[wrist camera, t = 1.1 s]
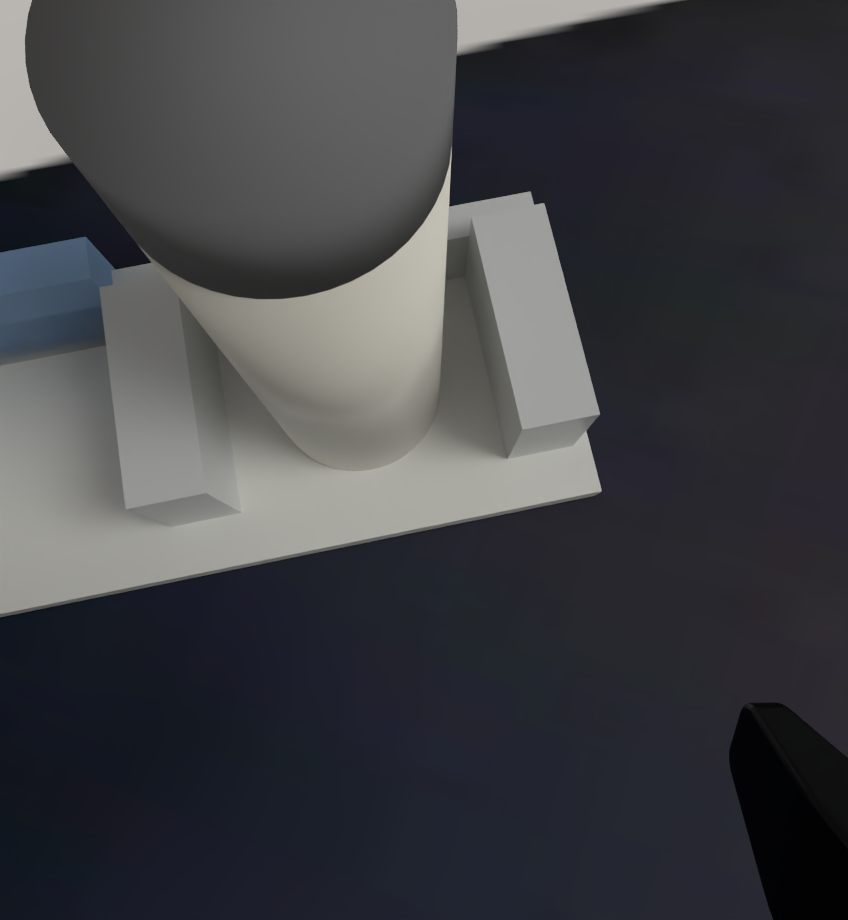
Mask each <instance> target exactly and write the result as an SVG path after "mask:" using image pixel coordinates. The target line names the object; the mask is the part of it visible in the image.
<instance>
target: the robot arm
mask: <svg viewBox="0 0 848 920" xmlns="http://www.w3.org/2000/svg"><path fill="white" fill-rule="evenodd" d="M729 763H730V769H731V773H732V777H733V781H734V784H735V788H736V792H737V795H738V799H739V802H740V806H741V810H742V813H743V817H744V821H745V824H746V828H747V832H748V835H749V839H750V843H751V846H752V850H753V853H754V857H755V861H756V864H757V868H758V872H759V875H760V879H761V883H762V886H763V889H764V893H765V896H766V900H767V903H768V906H769V909H770V912H771V915H772V918H773V920H848V758H847V757H846V756H845V755H843V754H842V753H841V752H840V751H839V750H838V749H836V748H835V747H834V746H833V745H832V744H830V743H829V742H828V741H827V740H826V739H825V738H823V737H822V736H821V735H820V734H819V733H818V732H816V731H815V730H814V729H813V728H812V727H810V726H809V725H808V724H807V723H806V722H805V721H803V720H802V719H801V718H800V717H799V716H798V715H796V714H795V713H794V712H793V711H792V710H790V709H789V708H788V707H786V706H784V705H783V704H780V703H749V704H746V705H745V706H744V707H743V708H742V710H741V712H740V715H739V719H738V722H737V726H736V729H735V733H734V736H733V739H732V743H731V746H730V751H729Z"/></svg>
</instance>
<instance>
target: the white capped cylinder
mask: <svg viewBox="0 0 848 920" xmlns="http://www.w3.org/2000/svg"><path fill="white" fill-rule="evenodd" d="M25 53H26V67H27V73H28V78H29V83H30V88H31V91H32V94H33V96H34V100H35V102H36V105H37V108H38V111H39V113H40V114H41V116H42V118H43V120H44V122H45V124H46V126H47V127H48V129H49V131H50V133H51V134H52V135H53V137H54V138H55V139H56V141H57V142H58V143H59V145H60V146H61V147H62V149H63V150H64V151H65V153H66V154H67V155H68V156H69V158H70V159H71V160H72V162H73V163H74V164H75V165H76V167H77V168H78V169H79V171H80V172H81V173H82V174H83V176H84V177H85V178H86V179H87V181H88V182H89V183H90V185H91V186H92V187H93V188H94V190H95V191H96V192H97V193H98V195H99V196H100V197H101V199H102V200H103V201H104V202H105V204H106V205H107V206H108V207H109V209H110V210H111V211H112V213H113V214H114V215H115V216H116V218H117V219H118V220H119V221H120V223H121V224H122V225H123V227H124V228H125V229H126V230H127V232H128V233H129V234H130V235H131V237H132V238H133V239H134V241H135V242H136V243H137V244H138V246H139V247H140V248H141V249H142V251H143V252H144V253H145V255H146V256H147V257H148V258H149V260H150V261H151V262H152V263H153V265H154V266H155V267H156V269H157V270H158V271H159V272H160V274H161V275H162V276H163V277H164V279H165V280H166V281H167V283H168V284H169V285H170V286H171V288H172V289H173V290H174V291H175V293H176V294H177V295H178V297H179V298H180V299H181V300H182V302H183V303H184V304H185V305H186V307H187V308H188V309H189V311H190V312H191V313H192V314H193V316H194V317H195V318H196V319H197V321H198V322H199V323H200V325H201V326H202V327H203V328H204V330H205V331H206V332H207V333H208V335H209V336H210V337H211V339H212V340H213V341H214V342H215V344H216V345H217V346H218V348H219V349H220V350H221V351H222V353H223V354H224V355H225V356H226V358H227V359H228V360H229V362H230V363H231V364H232V365H233V367H234V368H235V369H236V370H237V372H238V373H239V374H240V376H241V377H242V378H243V379H244V381H245V382H246V383H247V384H248V386H249V387H250V388H251V390H252V391H253V392H254V393H255V395H256V396H257V397H258V398H259V400H260V401H261V402H262V404H263V405H264V406H265V407H266V409H267V410H268V411H269V412H270V414H271V415H272V416H273V418H274V419H275V420H276V421H277V423H278V424H279V425H280V426H281V428H282V429H283V430H284V432H285V433H286V434H287V435H288V437H289V438H290V439H291V440H292V442H293V443H294V444H295V445H296V446H297V447H298V448H299V449H300V450H301V451H302V452H303V453H305V454H306V455H307V456H309V457H310V458H312V459H313V460H315V461H317V462H319V463H321V464H323V465H326V466H328V467H332V468H335V469H339V470H347V471H365V470H372V469H376V468H380V467H384V466H386V465H388V464H391V463H393V462H395V461H397V460H399V459H400V458H402V457H404V456H405V455H406V454H408V453H409V452H410V451H412V450H413V449H414V448H415V447H416V446H417V445H418V444H419V443H420V442H421V440H422V439H423V438H424V436H425V435H426V434H427V432H428V430H429V429H430V427H431V425H432V423H433V420H434V418H435V416H436V412H437V408H438V403H439V395H440V375H441V355H442V335H443V315H444V295H445V275H446V255H447V234H448V214H449V194H450V174H451V154H452V134H453V114H454V93H455V73H456V53H457V8H456V2H455V0H32V3H31V7H30V10H29V14H28V20H27V28H26V36H25Z"/></svg>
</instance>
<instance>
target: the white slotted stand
mask: <svg viewBox="0 0 848 920" xmlns="http://www.w3.org/2000/svg"><path fill="white" fill-rule="evenodd" d="M599 415H600V413H599V409H598V405H597V401H596V397H595V394H594V390H593V386H592V382H591V378H590V375H589V371H588V367H587V363H586V360H585V356H584V352H583V348H582V344H581V341H580V337H579V333H578V329H577V326H576V322H575V318H574V314H573V310H572V307H571V303H570V299H569V295H568V292H567V288H566V284H565V280H564V276H563V273H562V269H561V265H560V261H559V257H558V254H557V250H556V246H555V242H554V239H553V235H552V231H551V227H550V223H549V220H548V216H547V212H546V208H545V205H544V203H542V204H537V205H534V203H533V199H532V196H531V192H525V193H520V194H515V195H509V196H504V197H499V198H494V199H488V200H483V201H478V202H472V203H467V204H462V205H456V206H451V207H449V214H448V234H447V255H446V275H445V295H444V315H443V335H442V355H441V375H440V395H439V403H438V408H437V412H436V416H435V418H434V420H433V423H432V425H431V427H430V429H429V430H428V432H427V434H426V435H425V436H424V438H423V439H422V440H421V442H420V443H419V444H418V445H417V446H416V447H415V448H414V449H413V450H412V451H410V452H409V453H408V454H406V455H405V456H404V457H402V458H400V459H399V460H397V461H395V462H393V463H391V464H388V465H386V466H384V467H380V468H376V469H372V470H365V471H347V470H339V469H335V468H332V467H328V466H326V465H323V464H321V463H319V462H317V461H315V460H313V459H312V458H310V457H309V456H307V455H306V454H305V453H303V452H302V451H301V450H300V449H299V448H298V447H297V446H296V445H295V444H294V443H293V442H292V440H291V439H290V438H289V437H288V435H287V434H286V433H285V432H284V430H283V429H282V428H281V426H280V425H279V424H278V423H277V421H276V420H275V419H274V418H273V416H272V415H271V414H270V412H269V411H268V410H267V409H266V407H265V406H264V405H263V404H262V402H261V401H260V400H259V398H258V397H257V396H256V395H255V393H254V392H253V391H252V390H251V388H250V387H249V386H248V384H247V383H246V382H245V381H244V379H243V378H242V377H241V376H240V374H239V373H238V372H237V370H236V369H235V368H234V367H233V365H232V364H231V363H230V362H229V360H228V359H227V358H226V356H225V355H224V354H223V353H222V351H221V350H220V349H219V348H218V346H217V345H216V344H215V342H214V341H213V340H212V339H211V337H210V336H209V335H208V333H207V332H206V331H205V330H204V328H203V327H202V326H201V325H200V323H199V322H198V321H197V319H196V318H195V317H194V316H193V314H192V313H191V312H190V311H189V309H188V308H187V307H186V305H185V304H184V303H183V302H182V300H181V299H180V298H179V297H178V295H177V294H176V293H175V291H174V290H173V289H172V288H171V286H170V285H169V284H168V283H167V281H166V280H165V279H164V277H163V276H162V275H161V274H160V272H159V271H158V270H157V269H156V267H155V266H154V265H153V263H149V264H143V265H138V266H133V267H127V268H122V269H117V270H115V269H114V267H113V266H112V265H111V264H110V263H109V262H108V261H107V260H106V259H105V258H104V256H103V255H102V254H101V253H100V252H99V251H98V250H97V249H96V248H95V247H94V245H93V244H92V243H91V242H90V241H89V240H88V239H87V238H86V237H82V238H76V239H71V240H66V241H60V242H55V243H50V244H44V245H39V246H33V247H28V248H23V249H17V250H12V251H7V252H1V253H0V617H4V616H9V615H14V614H19V613H24V612H29V611H34V610H38V609H43V608H48V607H53V606H58V605H63V604H68V603H73V602H78V601H82V600H87V599H92V598H97V597H102V596H107V595H112V594H117V593H122V592H126V591H131V590H136V589H141V588H146V587H151V586H156V585H161V584H166V583H170V582H175V581H180V580H185V579H190V578H195V577H200V576H205V575H210V574H214V573H219V572H224V571H229V570H234V569H239V568H244V567H249V566H254V565H258V564H263V563H268V562H273V561H278V560H283V559H288V558H293V557H298V556H302V555H307V554H312V553H317V552H322V551H327V550H332V549H337V548H342V547H346V546H351V545H356V544H361V543H366V542H371V541H376V540H381V539H386V538H390V537H395V536H400V535H405V534H410V533H415V532H420V531H425V530H430V529H434V528H439V527H444V526H449V525H454V524H459V523H464V522H469V521H474V520H478V519H483V518H488V517H493V516H498V515H503V514H508V513H513V512H518V511H522V510H527V509H532V508H537V507H542V506H547V505H552V504H557V503H562V502H566V501H571V500H576V499H581V498H586V497H591V496H596V495H597V494H598V493H600V492H601V491H602V490H601V486H600V482H599V479H598V475H597V471H596V467H595V463H594V459H593V455H592V452H591V448H590V444H589V440H588V436H587V432H586V430H587V429H588V428H589V427H590V425H591V424H592V423H593V422H594V421H595V419H596V418H597V417H598V416H599Z"/></svg>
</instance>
